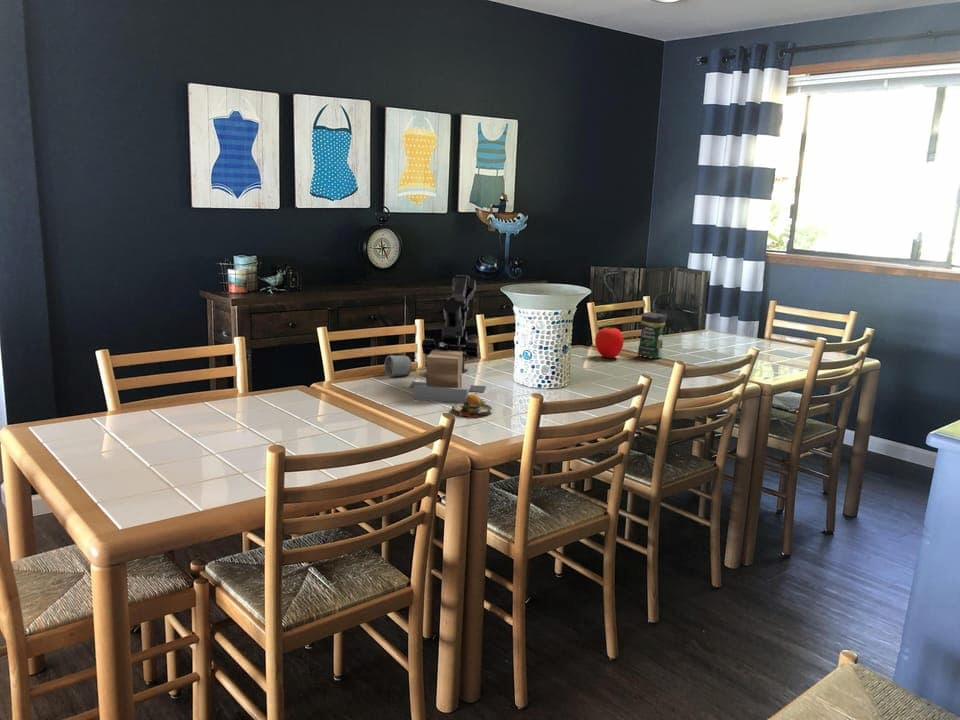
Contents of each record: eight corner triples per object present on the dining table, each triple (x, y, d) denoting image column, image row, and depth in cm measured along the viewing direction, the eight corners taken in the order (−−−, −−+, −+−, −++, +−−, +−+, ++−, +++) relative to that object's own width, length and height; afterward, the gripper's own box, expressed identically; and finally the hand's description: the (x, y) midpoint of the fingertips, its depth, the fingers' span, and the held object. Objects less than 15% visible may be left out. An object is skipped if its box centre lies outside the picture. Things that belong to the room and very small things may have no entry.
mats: (412, 382, 264) (412, 381, 264) (485, 386, 262) (485, 386, 262) (408, 387, 257) (408, 387, 256) (483, 392, 254) (483, 391, 254)
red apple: (626, 357, 320) (629, 327, 318) (616, 361, 311) (618, 330, 309) (601, 353, 326) (603, 323, 323) (590, 357, 317) (592, 326, 314)
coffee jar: (634, 356, 324) (638, 312, 320) (644, 353, 330) (648, 310, 326) (655, 360, 317) (659, 315, 314) (664, 357, 323) (668, 313, 319)
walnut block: (431, 388, 258) (432, 349, 255) (461, 390, 257) (462, 351, 254) (425, 397, 246) (426, 357, 243) (457, 399, 245) (458, 359, 242)
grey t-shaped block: (418, 392, 251) (418, 380, 250) (469, 395, 250) (469, 383, 249) (413, 398, 243) (414, 386, 242) (466, 402, 242) (466, 389, 241)
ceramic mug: (413, 376, 272) (413, 356, 271) (393, 378, 268) (393, 357, 267) (399, 371, 281) (399, 351, 279) (379, 373, 276) (380, 352, 275)
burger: (492, 408, 237) (493, 384, 235) (491, 419, 225) (492, 394, 224) (452, 406, 237) (453, 383, 235) (450, 417, 226) (451, 392, 224)
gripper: (423, 315, 259) (416, 354, 250) (479, 318, 257) (474, 357, 249) (426, 334, 268) (420, 372, 259) (480, 337, 266) (475, 376, 258)
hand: (447, 369), depth 256 cm, fingers closed
